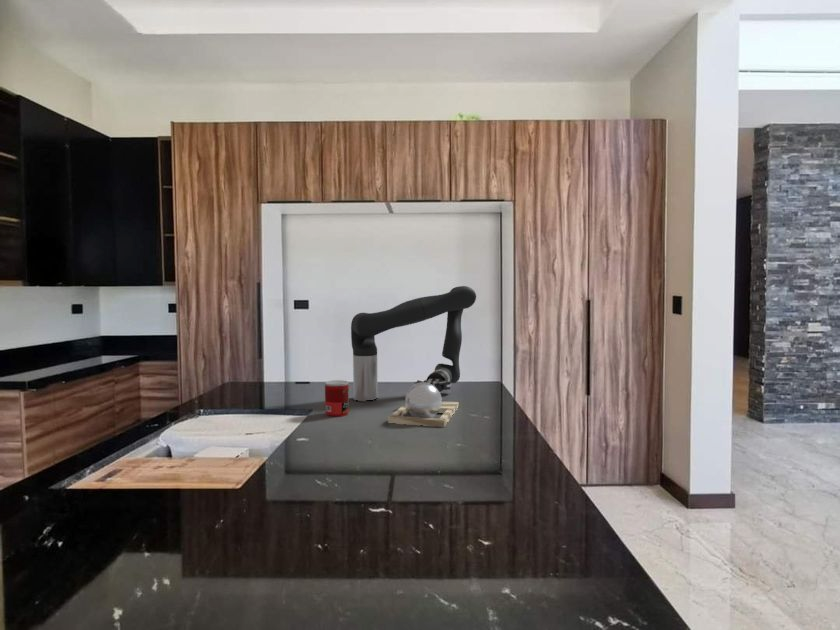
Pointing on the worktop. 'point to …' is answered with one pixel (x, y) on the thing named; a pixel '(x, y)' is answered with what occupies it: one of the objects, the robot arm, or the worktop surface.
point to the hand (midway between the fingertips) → (428, 389)
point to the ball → (423, 400)
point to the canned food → (336, 398)
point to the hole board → (446, 409)
